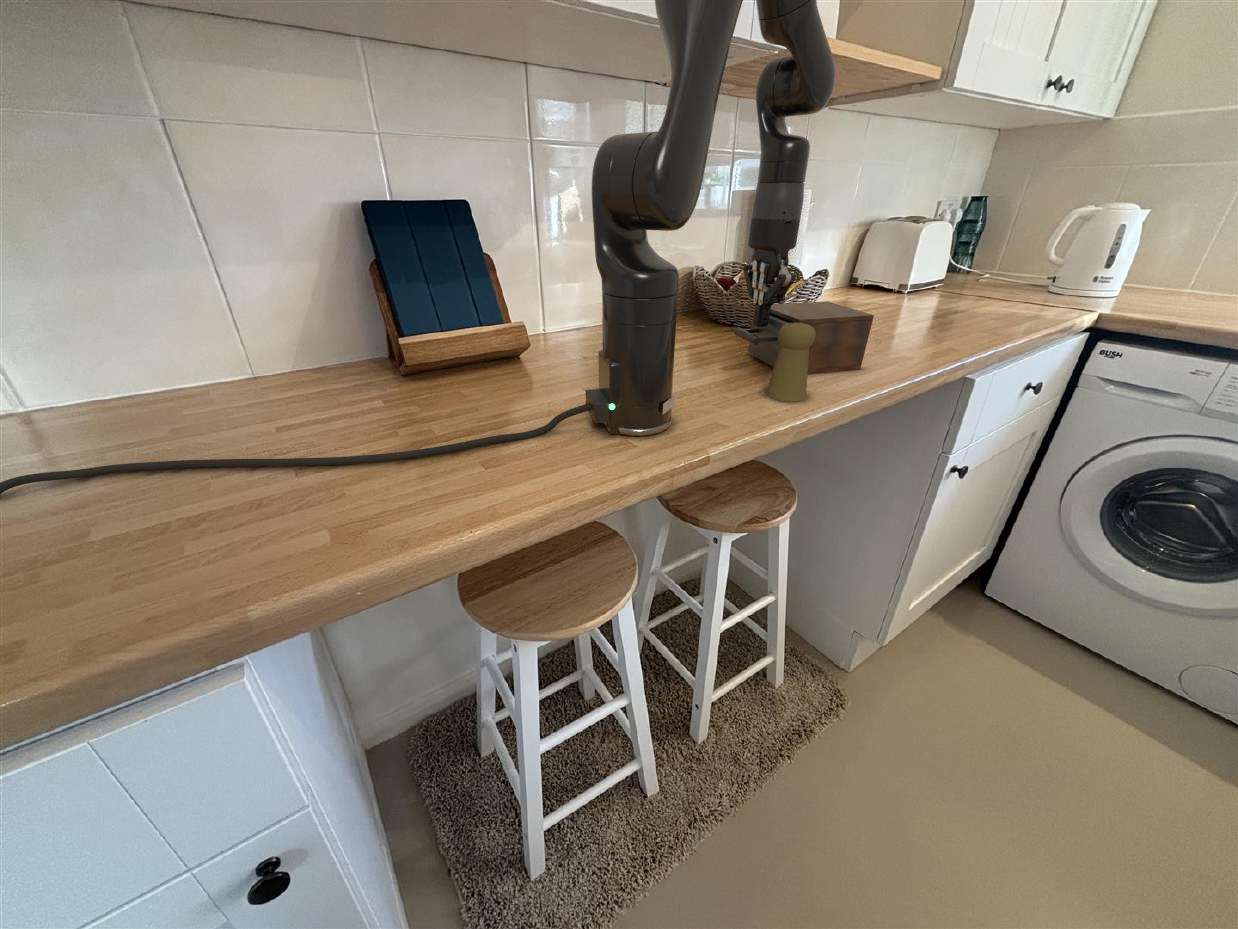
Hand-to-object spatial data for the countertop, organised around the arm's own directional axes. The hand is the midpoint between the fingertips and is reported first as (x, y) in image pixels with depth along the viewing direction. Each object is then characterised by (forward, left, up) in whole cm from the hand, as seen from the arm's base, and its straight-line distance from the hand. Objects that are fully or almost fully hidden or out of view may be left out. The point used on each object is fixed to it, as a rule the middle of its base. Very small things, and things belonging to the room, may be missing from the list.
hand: (760, 325), depth 86 cm
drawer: (+6, 0, -6) cm, 9 cm away
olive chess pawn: (-2, -14, -8) cm, 16 cm away
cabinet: (+11, 0, -7) cm, 13 cm away
